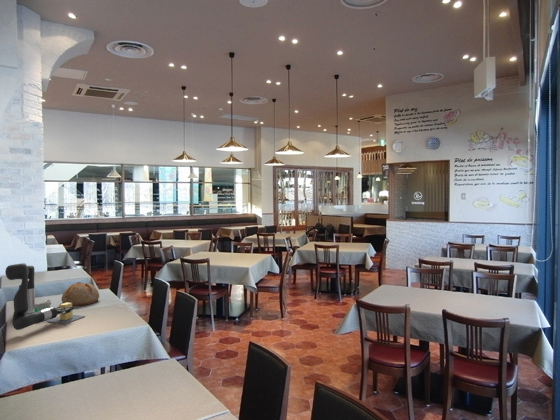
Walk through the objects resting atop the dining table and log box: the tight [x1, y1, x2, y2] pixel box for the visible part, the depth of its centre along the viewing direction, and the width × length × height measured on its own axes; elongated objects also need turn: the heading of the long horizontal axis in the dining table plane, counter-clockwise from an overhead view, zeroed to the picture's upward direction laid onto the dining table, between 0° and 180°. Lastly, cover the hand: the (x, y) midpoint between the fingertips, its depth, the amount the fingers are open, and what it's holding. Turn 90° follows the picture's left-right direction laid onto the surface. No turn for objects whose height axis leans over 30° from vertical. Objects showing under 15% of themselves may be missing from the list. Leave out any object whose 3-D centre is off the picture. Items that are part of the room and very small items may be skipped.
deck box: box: [59, 302, 73, 320], centre depth 256 cm, size 5×6×10 cm
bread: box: [61, 281, 100, 306], centre depth 300 cm, size 26×23×15 cm
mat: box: [46, 314, 86, 325], centre depth 256 cm, size 16×16×1 cm
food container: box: [34, 299, 52, 313], centre depth 262 cm, size 12×6×10 cm, turn 168°
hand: (68, 307), depth 258 cm, fingers open, 8 cm apart
